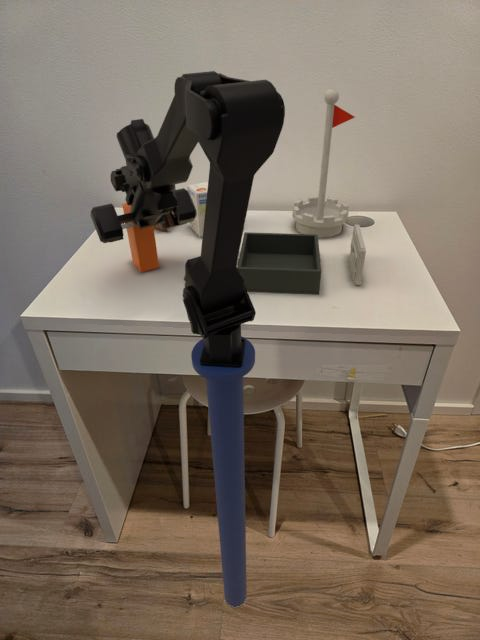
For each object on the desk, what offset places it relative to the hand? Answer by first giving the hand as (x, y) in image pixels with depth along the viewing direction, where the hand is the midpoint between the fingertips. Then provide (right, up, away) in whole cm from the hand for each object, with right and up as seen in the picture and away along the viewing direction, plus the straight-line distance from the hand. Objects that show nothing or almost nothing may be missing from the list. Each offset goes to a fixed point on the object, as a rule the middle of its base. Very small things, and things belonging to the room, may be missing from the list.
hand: (139, 232), depth 88 cm
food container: (+1, +6, +21) cm, 22 cm away
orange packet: (+1, -6, +4) cm, 7 cm away
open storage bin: (+28, -8, 0) cm, 29 cm away
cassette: (+44, -8, 0) cm, 44 cm away
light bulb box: (+14, +4, +18) cm, 23 cm away
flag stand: (+40, +4, +17) cm, 43 cm away
